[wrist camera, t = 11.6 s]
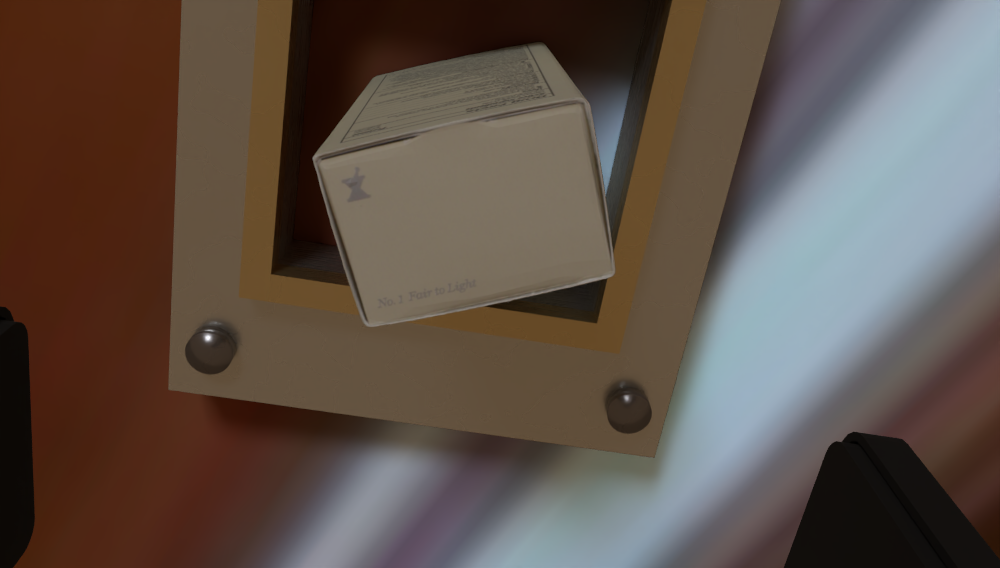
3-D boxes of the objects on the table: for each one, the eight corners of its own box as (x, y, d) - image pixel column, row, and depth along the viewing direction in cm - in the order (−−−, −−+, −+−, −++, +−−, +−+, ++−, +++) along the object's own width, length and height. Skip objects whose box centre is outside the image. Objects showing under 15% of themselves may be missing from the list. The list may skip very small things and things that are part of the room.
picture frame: (805, -185, 27) (848, -200, 24) (643, 423, 35) (659, 472, 32) (219, -302, 26) (180, -335, 23) (190, 358, 34) (159, 403, 31)
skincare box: (401, 192, 32) (353, 339, 20) (369, 69, 30) (298, 155, 19) (573, 157, 31) (621, 287, 20) (550, 30, 30) (589, 94, 18)
